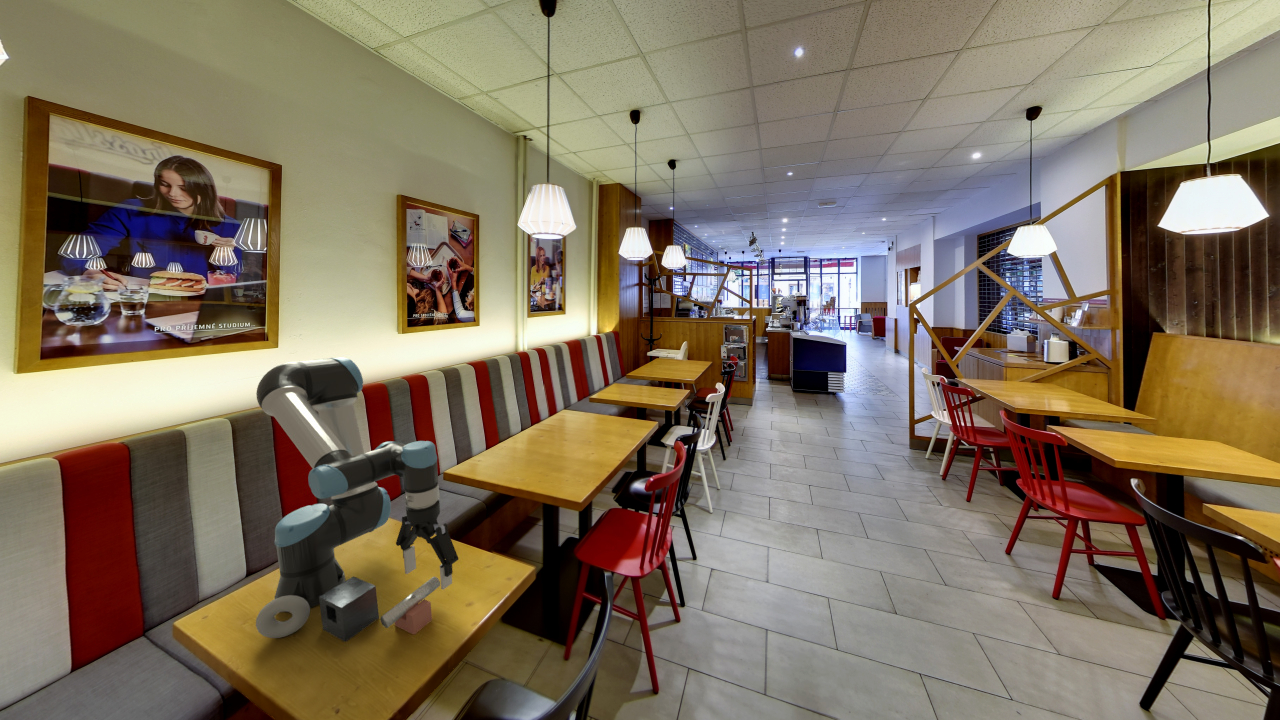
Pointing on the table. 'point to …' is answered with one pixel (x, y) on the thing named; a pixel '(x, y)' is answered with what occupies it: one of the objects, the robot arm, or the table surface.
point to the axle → (409, 602)
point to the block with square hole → (349, 608)
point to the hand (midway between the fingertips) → (428, 578)
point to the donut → (282, 628)
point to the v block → (415, 617)
